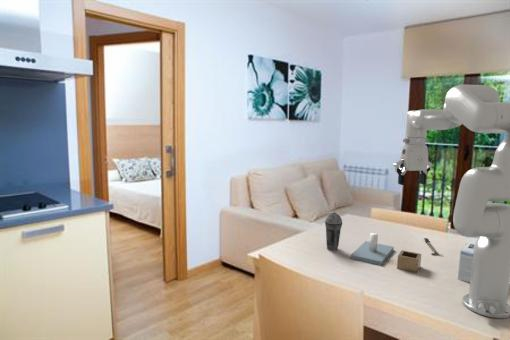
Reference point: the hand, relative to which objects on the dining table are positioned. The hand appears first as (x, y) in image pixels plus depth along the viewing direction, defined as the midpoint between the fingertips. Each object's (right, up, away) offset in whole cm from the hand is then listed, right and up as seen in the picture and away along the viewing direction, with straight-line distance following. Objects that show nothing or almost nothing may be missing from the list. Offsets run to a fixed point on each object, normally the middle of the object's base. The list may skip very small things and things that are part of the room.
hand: (411, 184), depth 146 cm
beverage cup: (-30, -28, +8) cm, 42 cm away
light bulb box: (+13, -33, -17) cm, 39 cm away
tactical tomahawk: (+15, -29, +12) cm, 35 cm away
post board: (-15, -29, +3) cm, 33 cm away
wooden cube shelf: (-5, -31, -10) cm, 33 cm away
